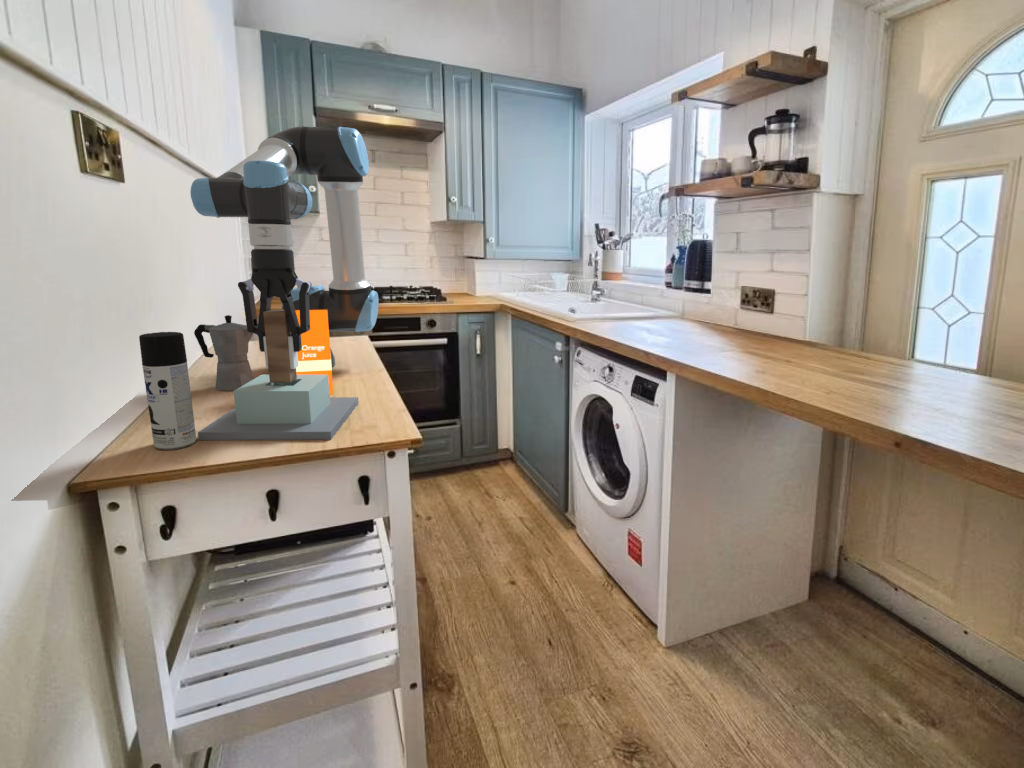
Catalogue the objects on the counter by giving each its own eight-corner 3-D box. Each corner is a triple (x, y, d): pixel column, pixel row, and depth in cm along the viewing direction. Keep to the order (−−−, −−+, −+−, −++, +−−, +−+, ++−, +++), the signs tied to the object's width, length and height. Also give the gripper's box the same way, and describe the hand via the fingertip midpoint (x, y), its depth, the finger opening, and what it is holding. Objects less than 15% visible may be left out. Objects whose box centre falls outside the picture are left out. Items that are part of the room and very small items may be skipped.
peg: (276, 377, 115) (270, 309, 112) (296, 377, 115) (291, 309, 112) (269, 382, 111) (263, 312, 108) (290, 382, 111) (284, 312, 108)
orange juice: (296, 388, 140) (289, 308, 135) (333, 386, 143) (327, 307, 138) (294, 396, 133) (287, 312, 128) (333, 394, 135) (328, 311, 130)
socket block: (250, 403, 126) (247, 369, 124) (358, 403, 128) (356, 369, 126) (198, 440, 103) (193, 398, 101) (331, 439, 104) (328, 398, 102)
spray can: (151, 442, 101) (134, 333, 96) (193, 435, 106) (179, 330, 101) (157, 453, 96) (140, 338, 92) (201, 445, 101) (187, 334, 96)
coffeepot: (270, 382, 146) (263, 313, 141) (252, 391, 136) (245, 318, 132) (211, 381, 146) (203, 312, 142) (190, 390, 137) (180, 317, 133)
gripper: (217, 247, 103) (231, 371, 109) (311, 248, 104) (320, 371, 110) (234, 247, 110) (246, 363, 116) (322, 248, 111) (330, 363, 117)
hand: (282, 367), depth 113 cm, fingers closed on peg, 4 cm apart
